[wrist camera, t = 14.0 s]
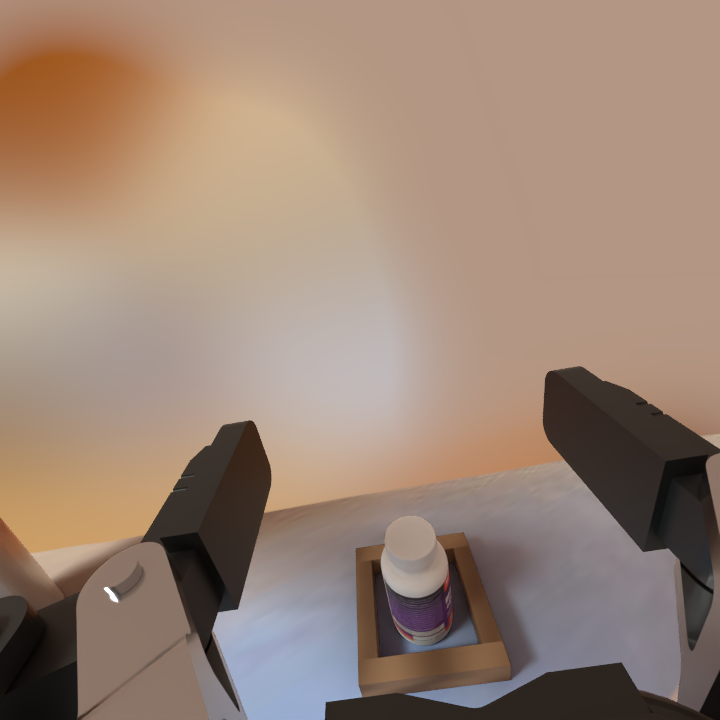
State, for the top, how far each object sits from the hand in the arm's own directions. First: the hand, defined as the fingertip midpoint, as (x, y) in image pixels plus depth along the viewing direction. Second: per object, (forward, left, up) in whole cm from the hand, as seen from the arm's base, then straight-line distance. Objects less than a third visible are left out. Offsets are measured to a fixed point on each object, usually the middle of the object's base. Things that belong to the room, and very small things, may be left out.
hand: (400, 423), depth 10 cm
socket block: (0, +11, -28) cm, 30 cm away
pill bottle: (0, +11, -28) cm, 30 cm away
